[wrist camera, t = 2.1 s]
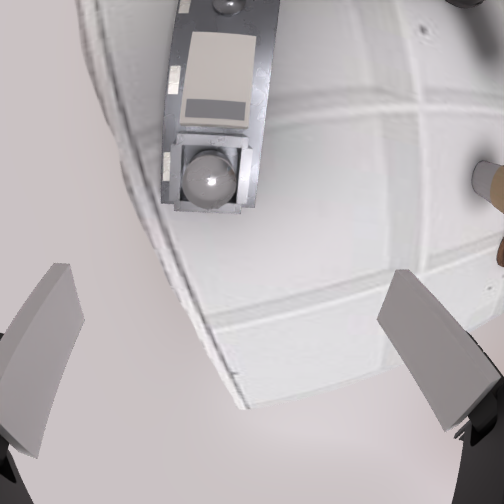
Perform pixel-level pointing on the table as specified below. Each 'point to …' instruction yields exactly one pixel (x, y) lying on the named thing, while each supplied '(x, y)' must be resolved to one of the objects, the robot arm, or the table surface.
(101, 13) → the table surface
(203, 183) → the button
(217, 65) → the plate
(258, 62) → the panel
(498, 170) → the coffee cup
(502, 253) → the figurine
